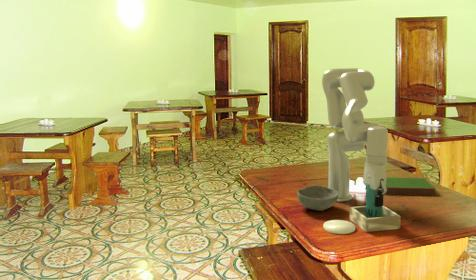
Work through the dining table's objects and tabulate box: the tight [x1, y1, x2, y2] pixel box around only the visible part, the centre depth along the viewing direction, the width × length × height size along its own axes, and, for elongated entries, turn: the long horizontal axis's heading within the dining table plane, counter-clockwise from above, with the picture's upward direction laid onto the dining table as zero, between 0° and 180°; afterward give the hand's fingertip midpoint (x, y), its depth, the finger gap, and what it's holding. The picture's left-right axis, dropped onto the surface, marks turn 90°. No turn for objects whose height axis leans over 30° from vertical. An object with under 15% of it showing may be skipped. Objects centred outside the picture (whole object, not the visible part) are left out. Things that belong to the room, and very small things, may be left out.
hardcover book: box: [385, 177, 436, 196], centre depth 211 cm, size 25×19×4 cm
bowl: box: [296, 184, 338, 212], centre depth 185 cm, size 18×18×8 cm
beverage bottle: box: [365, 183, 384, 218], centre depth 166 cm, size 6×7×20 cm
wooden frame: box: [349, 205, 402, 233], centre depth 167 cm, size 14×14×5 cm
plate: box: [322, 219, 356, 235], centre depth 163 cm, size 12×12×1 cm
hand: (374, 202), depth 166 cm, fingers closed on beverage bottle, 6 cm apart
